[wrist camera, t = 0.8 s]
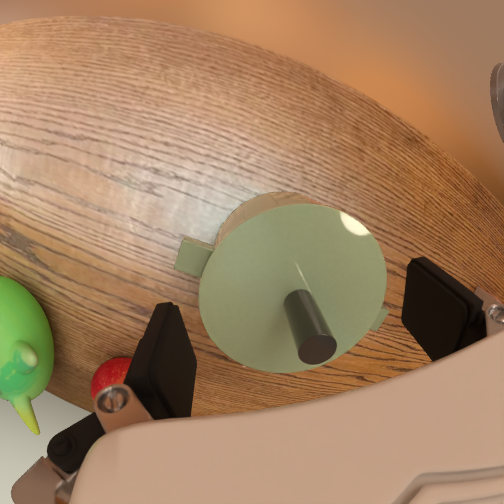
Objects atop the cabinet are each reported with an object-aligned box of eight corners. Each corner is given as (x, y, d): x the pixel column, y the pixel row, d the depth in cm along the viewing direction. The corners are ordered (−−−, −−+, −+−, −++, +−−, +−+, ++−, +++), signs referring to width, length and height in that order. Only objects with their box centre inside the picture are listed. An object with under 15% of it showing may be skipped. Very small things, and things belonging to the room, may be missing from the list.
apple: (126, 334, 32) (99, 392, 22) (172, 375, 34) (161, 434, 25) (93, 358, 33) (68, 410, 24) (136, 394, 36) (122, 446, 26)
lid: (242, 167, 18) (247, 177, 12) (408, 244, 21) (458, 278, 15) (178, 339, 23) (165, 398, 16) (327, 375, 25) (346, 427, 19)
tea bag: (482, 313, 36) (515, 344, 26) (466, 305, 34) (503, 339, 25) (492, 295, 34) (527, 324, 25) (477, 286, 33) (517, 317, 24)
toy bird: (-7, 240, 26) (-77, 286, 12) (83, 293, 29) (21, 373, 15) (-2, 332, 31) (-45, 384, 17) (74, 379, 34) (41, 448, 21)
